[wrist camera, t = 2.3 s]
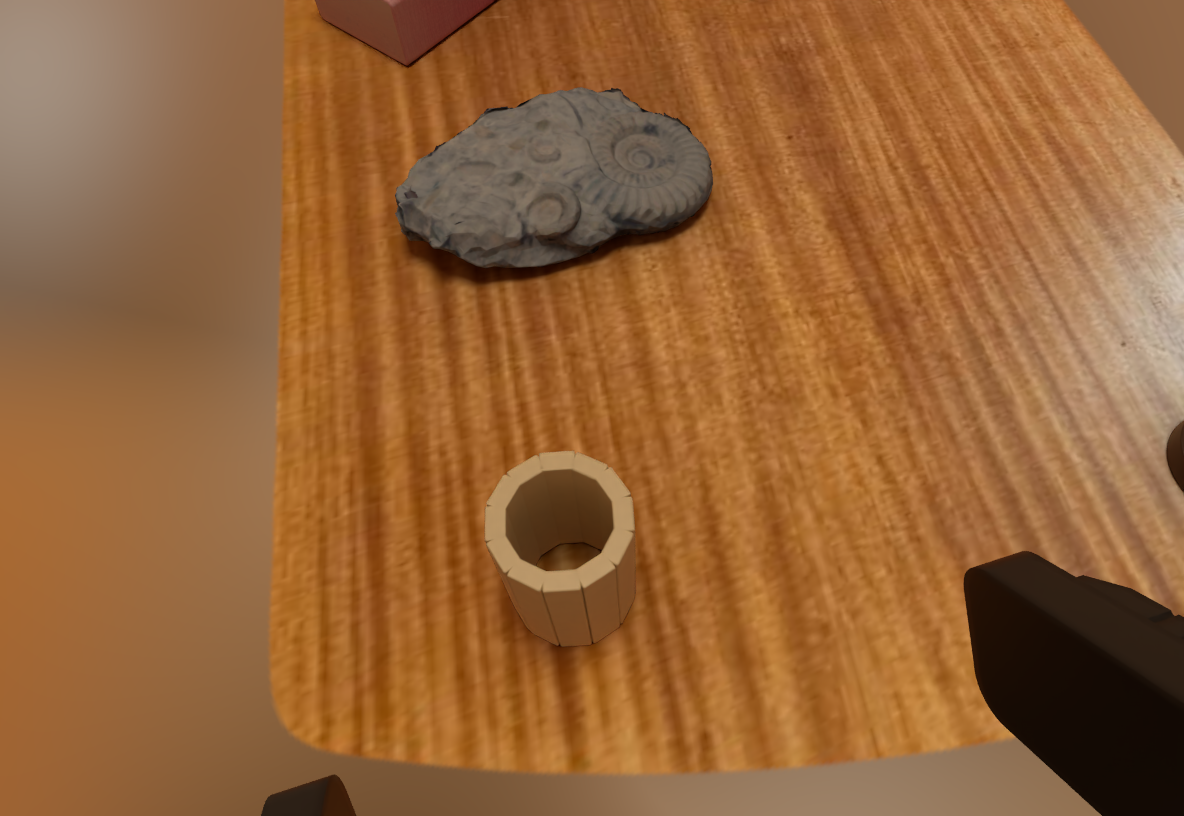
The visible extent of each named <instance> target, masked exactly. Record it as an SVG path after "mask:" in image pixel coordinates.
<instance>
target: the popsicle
mask: <svg viewBox="0 0 1184 816" xmlns="http://www.w3.org/2000/svg"><path fill="white" fill-rule="evenodd" d="M494 1H495V0H315V2H316V4H317V7H318V10H319V13H320V15H321V16H322V18H323V19H324V20H326V21H328V22H329V23H331V24H333V25H335V26H337V27H338V28H340V29H342V30H344V31H345V32H347V33H349V34H351V35H353V36H354V37H356V38H358V39H360V40H361V41H363V42H365V43H367V44H369V45H370V46H372V47H374V48H376V49H377V50H379V51H381V52H383V53H385V54H386V55H388V56H390V57H392V58H393V59H395V60H397V61H399V62H401V63H402V64H404V65H409V64H410V63H412V62H413V61H414V60H416V59H417V58H418V57H420V56H421V55H422V54H424V53H425V52H426V51H428V50H429V49H430V48H432V47H433V46H434V45H436V44H437V43H439V42H440V41H441V40H443V39H444V38H445V37H447V36H448V35H449V34H451V33H452V32H453V31H455V30H456V29H457V28H459V27H460V26H461V25H463V24H464V23H465V22H467V21H468V20H469V19H471V18H472V17H474V16H475V15H476V14H478V13H479V12H480V11H482V10H483V9H484V8H486V7H487V6H488V5H490V4H491V3H492V2H494Z"/></svg>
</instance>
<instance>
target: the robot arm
mask: <svg viewBox="0 0 1184 816" xmlns="http://www.w3.org/2000/svg"><path fill="white" fill-rule="evenodd" d="M964 593H965V601H966V608H967V616H968V623H969V631H970V638H971V646H972V653H973V661H974V668H975V674H976V679H977V682H978V685H979V688H980V690H981V693H982V695H983V697H984V699H985V701H986V703H987V705H988V706H989V708H990V709H991V711H992V712H993V714H994V715H995V716H996V718H997V719H998V720H999V721H1000V722H1001V723H1002V724H1003V725H1004V726H1005V727H1006V728H1007V729H1008V730H1009V731H1010V732H1011V733H1012V734H1013V735H1015V736H1016V737H1017V738H1018V739H1019V740H1020V741H1021V742H1022V743H1023V744H1024V745H1026V746H1027V747H1028V748H1029V749H1030V750H1031V751H1032V752H1033V753H1034V754H1035V755H1036V756H1038V757H1039V758H1040V759H1041V760H1042V761H1043V762H1044V763H1045V764H1046V765H1047V766H1048V767H1050V768H1051V769H1052V770H1053V771H1054V772H1055V773H1056V774H1057V775H1058V776H1059V777H1060V778H1061V779H1063V780H1064V781H1065V782H1066V783H1067V784H1068V785H1069V786H1070V787H1071V788H1072V789H1073V790H1075V791H1076V792H1077V793H1078V794H1079V795H1080V796H1081V797H1082V798H1083V799H1084V800H1085V801H1087V802H1088V803H1089V804H1090V805H1091V806H1092V807H1093V808H1094V809H1095V810H1096V811H1097V812H1099V813H1100V814H1101V815H1102V816H1184V617H1182V616H1180V615H1177V616H1174V615H1173V614H1172V612H1171V610H1170V609H1168V608H1166V607H1164V606H1162V605H1160V604H1159V603H1157V602H1155V601H1153V600H1151V599H1149V598H1148V597H1146V596H1144V595H1142V594H1140V593H1138V592H1137V591H1135V590H1133V589H1131V588H1127V587H1124V586H1120V585H1117V584H1113V583H1109V582H1106V581H1102V580H1099V579H1095V578H1091V577H1088V576H1084V575H1082V576H1079V577H1075V576H1073V575H1071V574H1069V573H1068V572H1066V571H1064V570H1063V569H1061V568H1059V567H1057V566H1056V565H1054V564H1052V563H1050V562H1049V561H1047V560H1045V559H1043V558H1042V557H1040V556H1038V555H1037V554H1034V553H1032V552H1029V551H1022V552H1019V553H1016V554H1013V555H1010V556H1007V557H1004V558H1000V559H997V560H994V561H991V562H988V563H985V564H982V565H979V566H976V567H973V568H970V569H969V570H968V571H967V572H966V574H965V577H964ZM261 816H356V814H355V811H354V809H353V806H352V804H351V801H350V798H349V796H348V794H347V791H346V789H345V786H344V784H343V783H342V781H341V780H340V778H339V777H338V776H337V775H331V776H328V777H325V778H322V779H318V780H316V781H312V782H310V783H306V784H303V785H300V786H297V787H294V788H291V789H288V790H285V791H282V792H279V793H276V794H273V795H270V796H269V797H268V798H267V800H266V802H265V804H264V807H263V811H262V814H261Z"/></svg>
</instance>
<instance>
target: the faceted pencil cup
mask: <svg viewBox="0 0 1184 816" xmlns="http://www.w3.org/2000/svg"><path fill="white" fill-rule="evenodd" d="M486 504H487V507H485V542H486V546H487V548H488V550H489V553H490V555H491V557H492V559H493V561H494V564H495V566H496V568H497V570H498V572H499V575H500V577H501V579H502V581H503V583H504V586H505V588H506V590H507V592H508V594H509V597H510V599H511V601H512V603H513V605H514V607H515V609H516V611H517V612H518V614H519V615H520V617H521V619H522V620H523V622H524V624H525V625H526V627H527V628H528V630H531V632H532V633H533V634H535V635H537V636H539V637H541V638H543V639H545V640H547V641H549V642H550V643H552V644H554V645H556V646H558V645H559V644H560V645H561V646H562V647H565V646H580V645H591V644H592V642H593V643H596V642H598V641H599V640H601V639H602V638H604V637H605V636H607V635H608V634H610V633H611V632H613V631H614V630H616V629H617V628H619V627H620V624H622V623H623V621H624V619H625V617H626V615H627V613H628V611H629V609H630V607H631V605H632V603H633V601H634V598H635V593H636V580H635V522H634V510H633V499H632V497H631V493H630V492H629V490H628V489H627V488H626V486H625V485H624V484H623V482H622V481H621V480H620V478H619V477H618V475H617V474H616V473H615V471H614V470H613V469H612V468H611V467H610V468H608V465H607V464H604V463H602V462H600V461H597V460H595V459H593V458H590V457H588V456H586V455H584V454H581V453H579V452H577V453H576V454H575V452H574V451H563V452H549V453H539V457H538V456H537V455H535V456H533V457H531V458H530V459H528V460H526V461H525V462H523V463H521V464H520V465H518V466H516V467H515V468H513V469H511V470H510V471H508V472H507V475H503V477H502V478H501V480H500V482H499V483H498V485H497V487H496V488H495V490H494V491H493V493H492V495H491V496H490V498H489V500H488V501H487V503H486ZM578 542H584V543H587V544H589V545H591V546H593V547H595V548H597V549H600V550H602V552H601V553H600V554H599V555H597V556H596V557H594V558H593V559H591V560H590V561H588V562H586V563H585V564H583V565H582V566H580V567H579V568H577V569H574V570H559V571H545V570H543V569H541V568H538V567H536V564H537V562H538V560H539V558H540V557H541V555H543V554H544V553H546V552H547V551H549V550H551V549H552V548H554V547H555V546H557V545H558V544H563V543H578Z"/></svg>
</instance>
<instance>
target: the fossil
mask: <svg viewBox="0 0 1184 816" xmlns="http://www.w3.org/2000/svg"><path fill="white" fill-rule="evenodd" d="M689 129H690V128H689V127H688V126H686V125H684V124H683V123H682V122H681V121H680V120H679V119H678V118H677V119H675V118H674V117H673V118H672V117H670V116H668V115H666V114H665V113H664V116H663V115H662V114H660V113H659V114H657V113H655V114H654V113H652V112H648V111H646V110H644V109H642V108H640V107H639V106H638V104H637V103H635V102H631V101H630V100H629V98H627V97H626V96H625V95H623V92H622V91H621V90H620V89H613V88H611V90H605V91H604V92H600V93H597V92H595V91H593V90H589V89H585V88H575V89H572V90H569V91H563V90H560V91H557V92H554V93H551V94H540V95H538V96H536V97H534V98H532V99H530V100H528V101H526V102H524V103H521V104H520V105H519V106H518V107H516V108H507V107H501V108H490V109H487V110H486V111H485V112H484V114H481V116H480V117H479V119H478V120H476V121H475V122H474V123H473V125H471V126H469V127H468V128H467V129H466V130H463V132H462V131H461V132H460V133H458V134H457V136H455V137H453V138H452V139H451V140H449V141H448V142H444V143H443V144H441V145H439V146H436V148H435V150H434V151H433V152H432V153H430V154H428V155H427V156H425V157H423V158H421V159H419V160H418V162H417V163H416V164H415V165H414V166H413V167H412V168H411V169H410V172H409V175H408V178H407V179H406V180H405V182H404V183H403V184H402V185H401V186H399V187H397V189H396V190H397V192H396V194H395V197H396V202H397V205H398V208H397V213H395V214H396V216H397V218H398V221H399V224H400V226H401V232H402V233H403V234H405V235H406V236H407V238H408V239H409V241H426V242H429V244H430V245H431V246H432V248H433V249H442V250H445V251H448V252H451V253H452V254H454V255H456V256H457V257H459V258H461V259H463V260H465V261H466V262H468V263H471V264H473V265H475V266H478V267H483V268H488V267H492V266H497V267H509V268H515V267H517V268H518V267H520V268H521V267H539V266H541V267H543V266H545V265H546V266H547V265H549V264H554V263H561V262H563V261H566V260H569V259H573V258H577V257H580V256H582V255H584V254H586V253H594V252H595V251H596V250H597V249H598V248H599V246H601V245H603V244H604V243H606V242H607V241H608V240H611V239H613V238H615V237H619V236H620V235H624V234H638V235H642V234H646V233H655V232H659V231H666V230H668V229H671V228H673V227H676V226H678V225H679V224H681V223H682V222H684V221H685V220H686V219H688V218H689V217H692V216H694V215H695V213H696V212H697V211H698V210H699V209H700V207H702V205H703V204H704V203H705V202H706V201H707V200H708V197H709V195H710V193H711V190H712V185H713V177H712V171H711V167H710V166H711V160H710V158H709V155H708V152H707V150H706V149H705V147H704V146H703V144H702V143H701V142H699V140H698V139H696V137H694V136H693V135H692V133H691V131H690V130H689Z"/></svg>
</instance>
